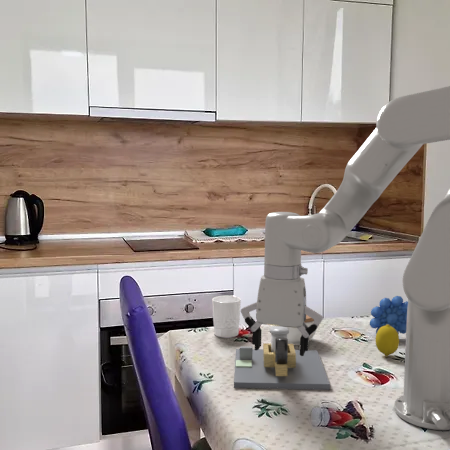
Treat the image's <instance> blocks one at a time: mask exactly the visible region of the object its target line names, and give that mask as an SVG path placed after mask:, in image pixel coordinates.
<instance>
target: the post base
mask: <svg viewBox="0 0 450 450" xmlns="http://www.w3.org/2000/svg"><path fill="white" fill-rule="evenodd" d="M269 333H270V334H271V335H270V337H271V338H270V339H271V342H270V344H271V353H274V352H275V339H276V338H278V337H284V338H287V334H288V333H289V329H288V328H287V327H282V326H271V327H269ZM295 353H296V368H287V376H276V373H275V367H264V361H263V348H262V349H261V348H259V349H258V350H255V348H253V346H243V345H242V346H239V348H235V358H234V359H235V360H234V361H235V362H234V376H233V388H234V389H237V388H238V389H273V390H274V389H277V390H280V389H281V390H324V391H325V390H327V391H329V390H331V389H330V388H331V383H330V381H329V379H328V375H327V373H326V370H325V367H324V365H323V362H322V360H321V357H320V354H319V352H318V350H316V349H308V351H305V353H304V356H301V355H300V349H295Z"/></svg>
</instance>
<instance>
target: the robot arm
mask: <svg viewBox="0 0 450 450" xmlns="http://www.w3.org/2000/svg"><path fill="white" fill-rule="evenodd" d="M375 124H376V125H375V126H376V127H375V129H373V131H372V132H371V134H370V135H369V136H368V137H367V138H366V140H365V141H364V142H363V143H362V145H361V146H360V147H359V148H358V150H357V151H356V152H355V153H354V155H353V156H352V157H351V158H350V160H348V162H347V164H346V167H345V169H344V174H343V179H342V182H341V184H340V185H339V187H338V189H337V190H336V192H335V193H334V194H333V196H332V197H331V198H330V199H329V200H328V202H327V203H326V204H325V205H324V207H323V208H322V209H321V210H320V211H319V212H318V213H314V214H309V215H300V214H299V213H295V212H291V211H275V212H270V213H268V214H267V215H266V217H265V226H264V227H265V228H264V261H263V262H264V269H263V275H261V277H260V280H259V285H258V291H257V298H256V302H253V303H251V304H249V305H246V306H244V307H242V308H240V314H241V315H242V317H243V319H244V323H245V324H246V326H248V327H249V328H250V332H252V338H251V339H252V343H251V344H252V345H254V349H255V350H258V349H261V347H262V329H261V326H262V325H267V326H272V327H275V326H282V327H292V328H297V329H298V330H299V331H300V332H301V334H302V336H301V338H300V345H299V350H300V355H301V356H304V353H305V351H308V350H309V341H310V340H309V335H311V334H312V333H313V332H314V331H315V330H316V331H317V329H318V328H319V326H320V324H321V323H322V321H323V318H324V316H323V315H321V314H320V313H319V312H317V311H315V310H313V309H312V308H310V307H309V306H307V289H306V288H307V287H306V282H305V278H304V277H301V276H304V275H308V267H304V266H303V265H302V251H303V252H307V253H312V254H318V253H319V254H321V253H323V252H326V251H328V250H329V249H331V248H333V247H335V246H337V245H338V244H340V243H341V242H342V241H343V240H344V239H346V237H347V235H348V234H349V233H350V232H351V231H352V229H354V227H355V226H356V225H357V224H358V223H359V221H360V220H362V218H363V217H364V216H365V214H366V213H367V211H369V209H370V208H371V207H372V206H373V205H374V203H375V202H376V201H377V200H378V199H379V198H380V196H381V195H382V194H383V193H384V191H385V190H386V188H387V187H388V186H389V185H390V184H391V183H392V181H393V180H394V179H395V178H396V176H397V175H398V174H399V173H400V172H401V171H402V169H403V168H404V167H405V166H406V165H407V163H408V162H409V161H410V160H411V159H412V158H413V157H414V155H416V154H417V152H418V151H419V150H420V149H421V148H422V146H423V145H426V144H432V143H437V142H443V141H449V140H450V85H447V86H444V87H440V88H434V89H431V90H426V91H421V92H417V93H411V94H407V95H402V96H399V97H396V98H393V99H392V100H390V101H388V102H387V103H385V105H383V107H381V109H380V111H379V113H378V114H377V117H376V123H375ZM402 288H403V291H404V294H405V296H406V297H407V301H408V308H407V326H406V333H405V351H404V352H405V354H404V355H405V356H404V372H403V373H404V374H403V377H404V378H403V395H401V396H399V397H397V399H395V401H394V408H393V409H394V412H395V413H396V415H397V416H398V417H400V418H401V420H404V421H405V422H407V423H410V424H411V425H414V426H417V427H418V428H419V427H420V428H424V429H428V430H435V431H450V187H449V188H448V189H447V192H446V194H445V196H444V198H442V199H441V201H440V202H438V204H437V205H436V206H435V207H434V209H433V210H432V212H431V214H430V215H429V218H428V220H427V222H426V224H425V226H424V229H423V230H422V233H421V235H420V238H419V239H418V241H417V244H416V245H415V247H414V250H413V252H412V254H411V257H410V258H409V261H408V263H407V265H406V266H405V269H404V272H403V275H402ZM254 311H255V318H256V320H255V319H254V318H253V317H252V316H251V314H250V312H254ZM306 315H308V316H309V317H311V318H313V319H314V322H313V324H312V325H310V326H309V327H308V326H307V325H306V323H305V322H304V321H305V320H306Z"/></svg>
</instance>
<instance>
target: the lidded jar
mask: <svg viewBox="0 0 450 450" xmlns="http://www.w3.org/2000/svg"><path fill="white" fill-rule="evenodd" d="M304 322H305V323H306V325H307V326H308V327H309V326H310V325H312V324H313V322H314V319H313V318H311V317H309V316H308V315H306V320H305V321H304ZM287 328H288V329H289V333H288V334H287V339H288V344H293V345H294V346H300V338H301V336H302V334H301V332H300V331H299V330H298V329H297V328H292V327H287ZM316 331H317V329H316V330H315V331H314V332H313V333H312V334H311V335H309V341H311V340H312V339H313V338H314V336H315V334H316Z"/></svg>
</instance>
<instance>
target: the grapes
mask: <svg viewBox="0 0 450 450" xmlns="http://www.w3.org/2000/svg"><path fill="white" fill-rule="evenodd" d="M407 308H408V300H407V301H406V300H405V301H404V299H403V297H402V296H400V295H395V296H394V297H392V298H391V299H390V298H389V297H384V298H382V299H381V300H379V306H377V305H376V306H374V307H373V308H372V309H371V310H370V315H371V317H372V318H370V321H369V326H370V328H371V329H376V330H375V334H377V331H378V330H379V329H380V328H381V327H382V326H386V325H387V324H388V325H390V326H391V327H393V328H394V329H395V330H396V331H397V333H398V335H399V334H402V335H403V334H404V335H406V326H407Z"/></svg>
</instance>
